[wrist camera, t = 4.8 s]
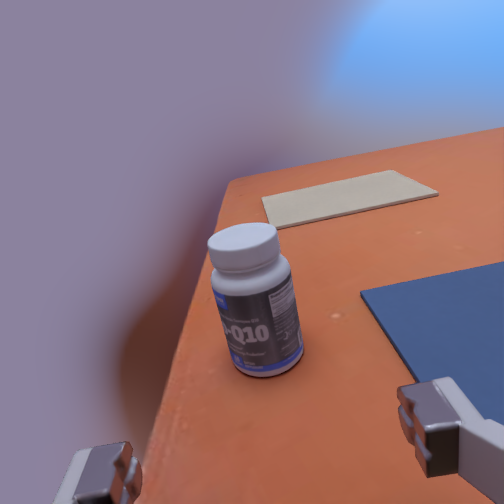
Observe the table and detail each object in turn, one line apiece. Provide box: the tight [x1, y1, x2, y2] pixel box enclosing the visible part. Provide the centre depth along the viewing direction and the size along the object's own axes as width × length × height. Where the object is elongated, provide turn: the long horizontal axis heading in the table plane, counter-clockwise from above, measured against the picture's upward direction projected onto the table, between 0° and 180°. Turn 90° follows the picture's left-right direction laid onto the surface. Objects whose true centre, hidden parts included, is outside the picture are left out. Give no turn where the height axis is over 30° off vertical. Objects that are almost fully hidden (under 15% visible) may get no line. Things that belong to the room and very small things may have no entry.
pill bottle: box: [208, 223, 303, 377], centre depth 23 cm, size 5×5×8 cm
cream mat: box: [262, 170, 439, 230], centre depth 51 cm, size 20×14×1 cm
